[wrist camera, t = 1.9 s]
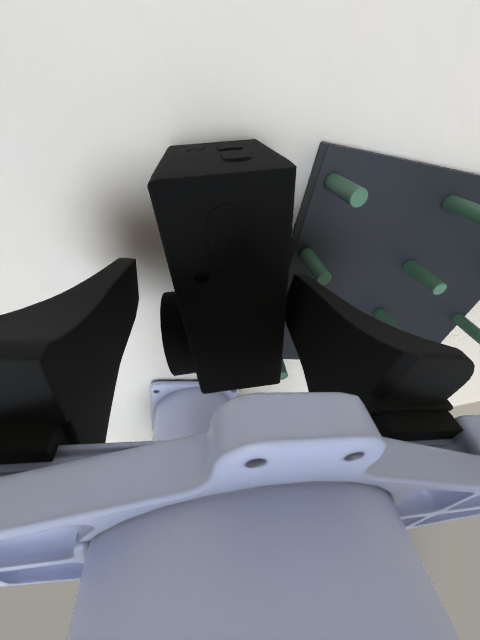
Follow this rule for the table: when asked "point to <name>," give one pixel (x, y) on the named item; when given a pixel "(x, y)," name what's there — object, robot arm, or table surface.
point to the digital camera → (225, 260)
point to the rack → (391, 240)
